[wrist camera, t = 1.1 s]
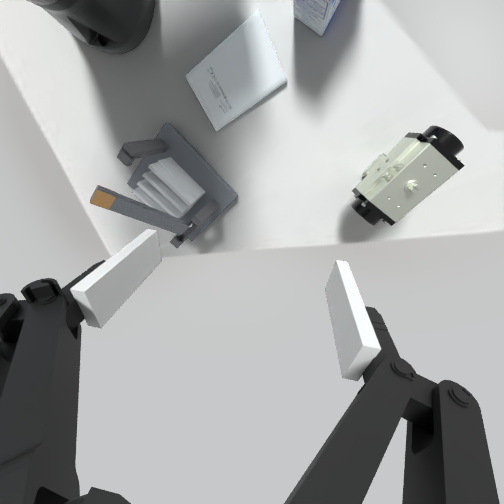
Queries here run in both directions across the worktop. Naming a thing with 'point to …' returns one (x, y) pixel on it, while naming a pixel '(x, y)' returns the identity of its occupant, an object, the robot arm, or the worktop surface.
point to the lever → (141, 212)
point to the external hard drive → (237, 73)
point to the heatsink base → (193, 170)
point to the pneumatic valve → (407, 175)
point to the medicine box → (315, 13)
